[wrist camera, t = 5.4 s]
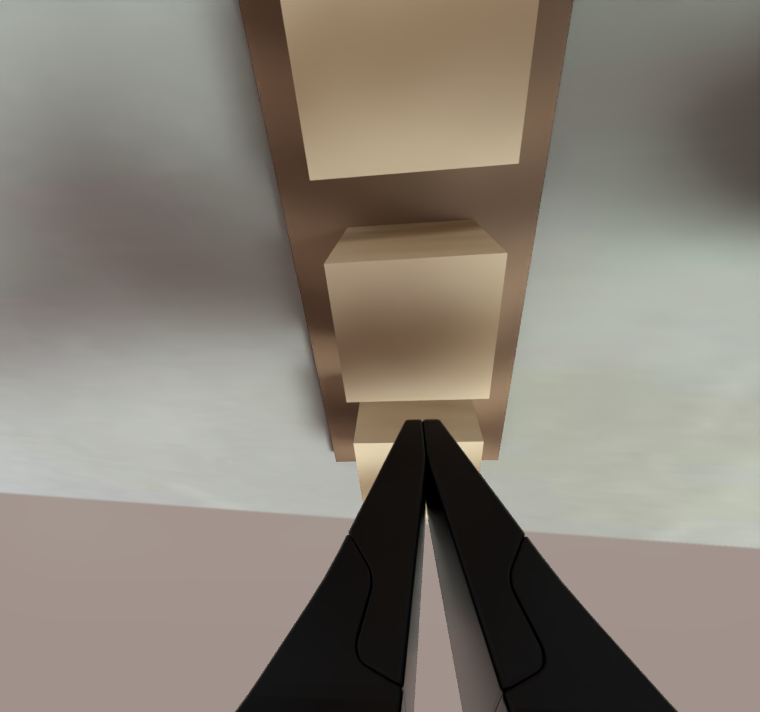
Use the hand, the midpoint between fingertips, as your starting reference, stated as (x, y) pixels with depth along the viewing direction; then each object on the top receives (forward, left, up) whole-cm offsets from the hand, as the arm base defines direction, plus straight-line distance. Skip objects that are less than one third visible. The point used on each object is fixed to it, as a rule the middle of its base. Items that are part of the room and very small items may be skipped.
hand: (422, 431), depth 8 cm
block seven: (+5, -7, -11) cm, 14 cm away
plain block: (0, 0, -11) cm, 11 cm away
